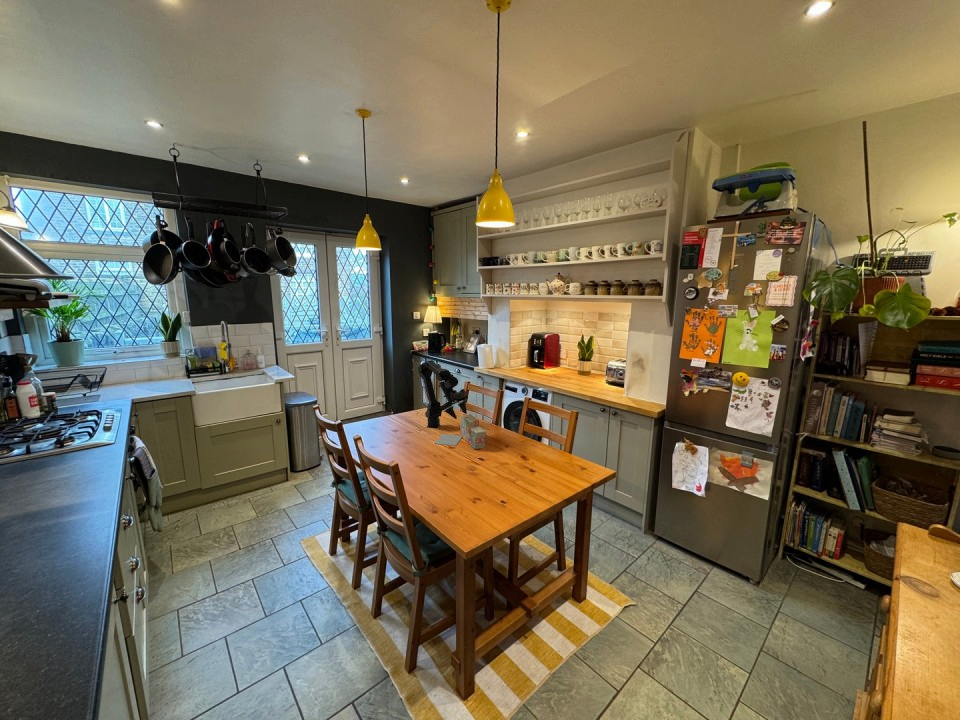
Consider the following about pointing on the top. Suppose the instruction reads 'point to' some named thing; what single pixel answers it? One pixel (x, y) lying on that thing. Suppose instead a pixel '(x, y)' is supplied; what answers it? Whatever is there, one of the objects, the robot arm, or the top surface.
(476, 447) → the stack of blocks
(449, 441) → the grey rubber mat
